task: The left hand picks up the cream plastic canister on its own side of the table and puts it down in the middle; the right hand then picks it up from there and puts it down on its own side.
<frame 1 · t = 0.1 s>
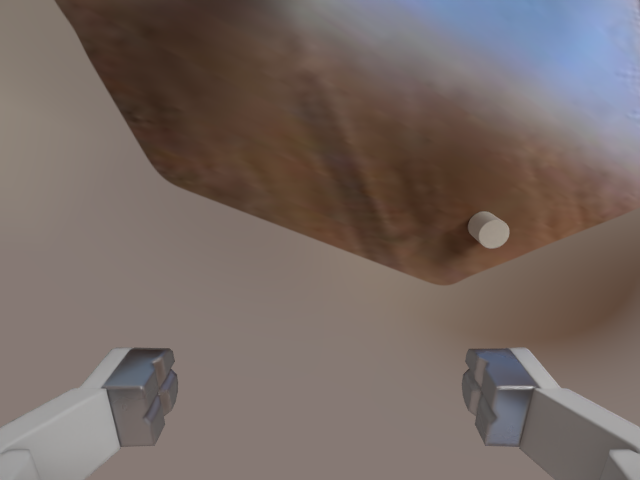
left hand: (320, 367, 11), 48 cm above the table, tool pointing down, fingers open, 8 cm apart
canister: (482, 225, 59), on the table
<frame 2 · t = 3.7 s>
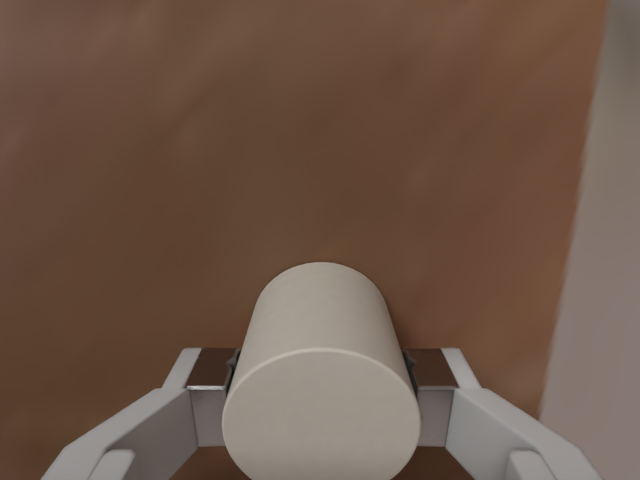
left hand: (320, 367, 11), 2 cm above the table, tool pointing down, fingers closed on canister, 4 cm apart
canister: (320, 322, 13), on the table, touching left hand
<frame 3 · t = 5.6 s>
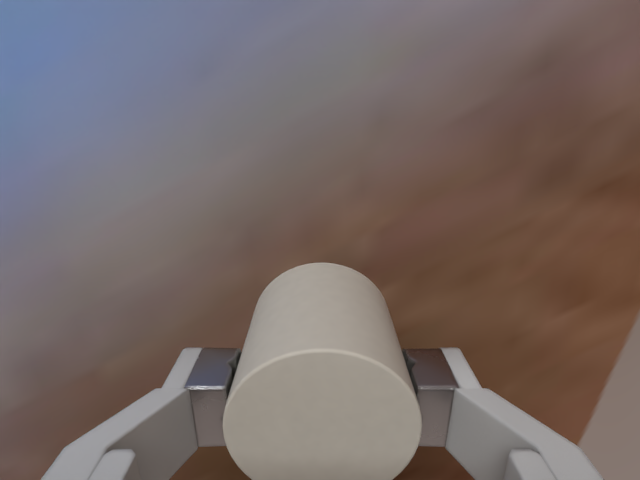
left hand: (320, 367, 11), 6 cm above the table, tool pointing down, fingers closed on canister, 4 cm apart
canister: (321, 323, 13), point 4 cm above the table, touching left hand
when the left hand's fingers open (3 cm above the table, at t = 8.0 s): canister drops 1 cm, on the table.
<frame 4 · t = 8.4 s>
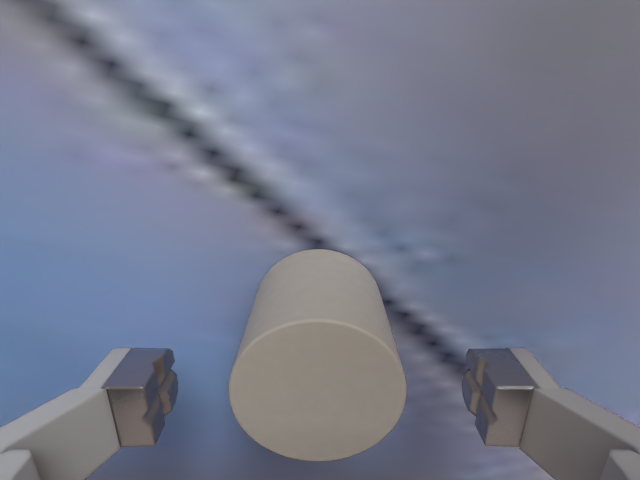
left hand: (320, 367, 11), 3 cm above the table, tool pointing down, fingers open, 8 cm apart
canister: (318, 306, 14), on the table
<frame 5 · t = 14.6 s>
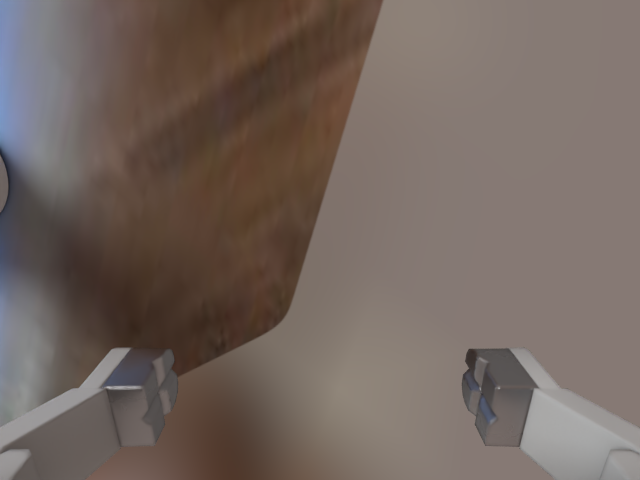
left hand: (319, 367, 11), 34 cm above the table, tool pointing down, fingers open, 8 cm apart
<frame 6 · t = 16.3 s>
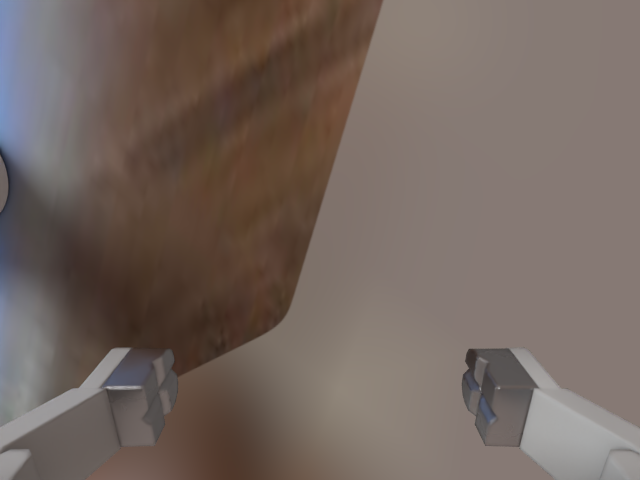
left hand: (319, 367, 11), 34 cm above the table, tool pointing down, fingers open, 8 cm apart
when the right hand's fingers open (2 cm above the table, at t = 18.6 s): canister drops 1 cm, on the table.
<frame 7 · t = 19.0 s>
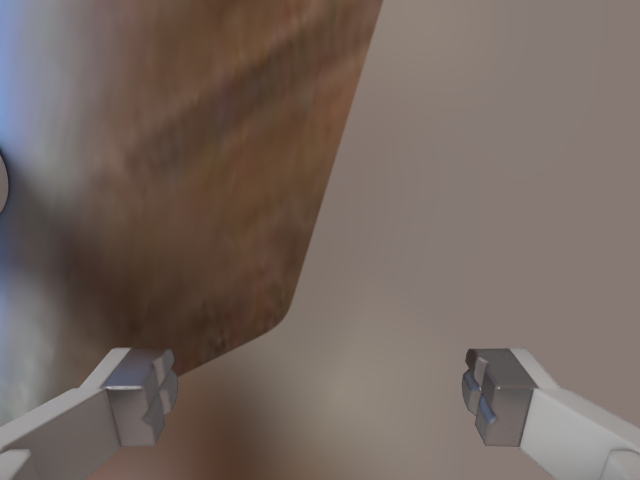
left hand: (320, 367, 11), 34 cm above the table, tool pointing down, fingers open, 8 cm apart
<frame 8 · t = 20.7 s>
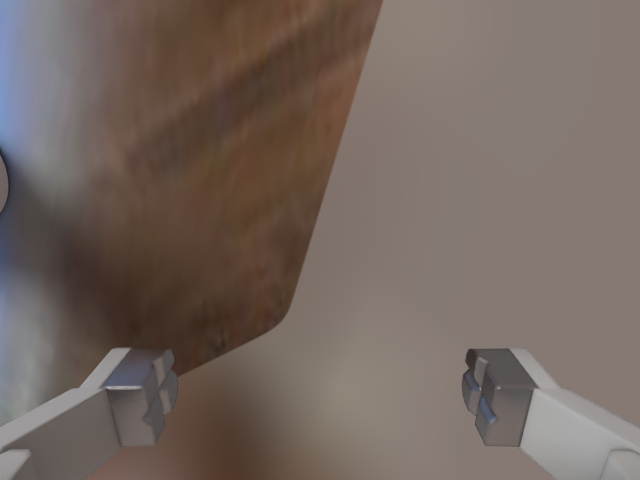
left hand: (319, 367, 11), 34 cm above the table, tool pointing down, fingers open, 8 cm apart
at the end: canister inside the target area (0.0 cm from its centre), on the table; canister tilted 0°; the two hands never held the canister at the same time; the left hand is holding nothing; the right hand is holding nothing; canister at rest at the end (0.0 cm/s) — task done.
